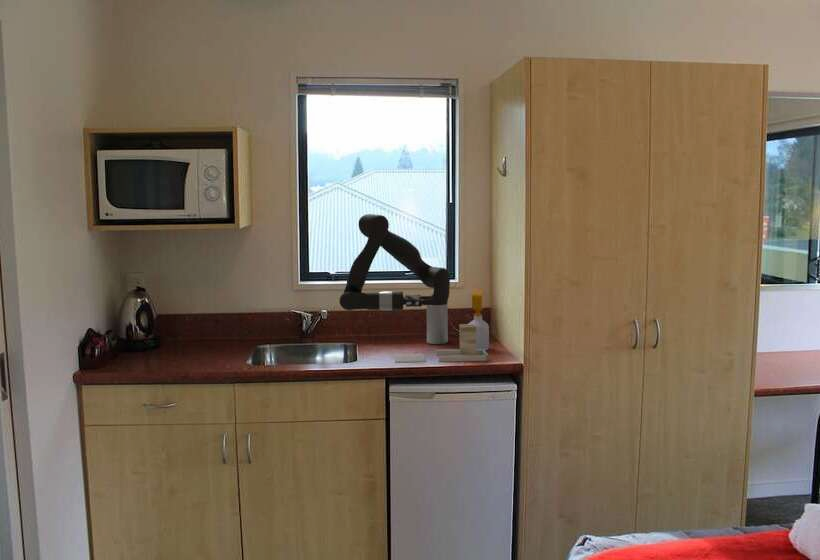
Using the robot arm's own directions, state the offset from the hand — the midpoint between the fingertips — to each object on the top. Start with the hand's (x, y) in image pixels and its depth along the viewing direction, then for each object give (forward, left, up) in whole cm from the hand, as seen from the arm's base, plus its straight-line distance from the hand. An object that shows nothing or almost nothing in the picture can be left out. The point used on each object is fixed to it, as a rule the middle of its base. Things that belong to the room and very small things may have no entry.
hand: (432, 300), depth 252 cm
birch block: (0, +14, -23) cm, 27 cm away
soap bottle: (-14, +20, -23) cm, 34 cm away
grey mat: (0, -9, -23) cm, 25 cm away
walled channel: (0, +12, -23) cm, 26 cm away
